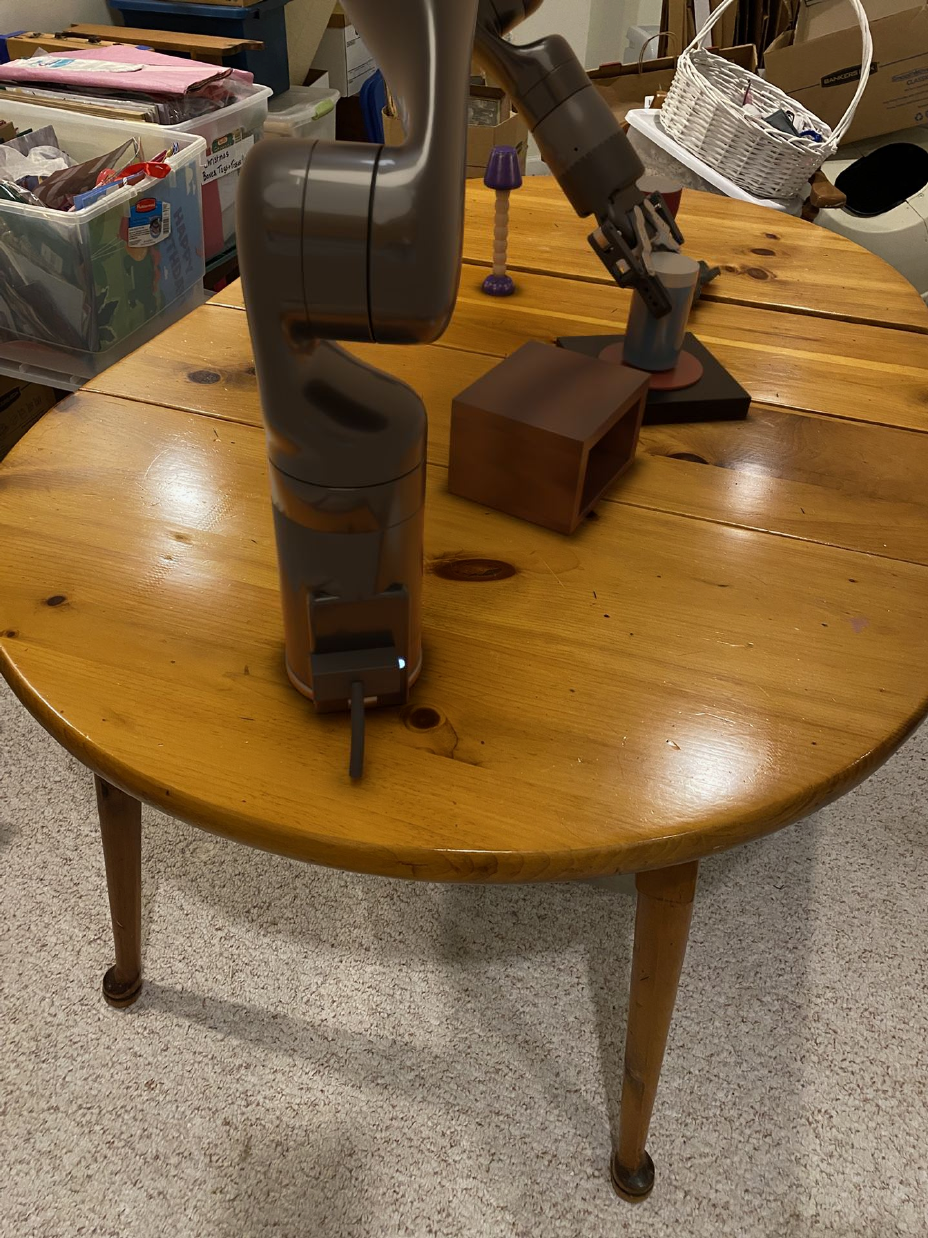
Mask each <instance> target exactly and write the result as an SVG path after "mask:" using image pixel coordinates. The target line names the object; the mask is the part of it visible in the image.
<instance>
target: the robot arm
mask: <svg viewBox="0 0 928 1238" xmlns="http://www.w3.org/2000/svg"><path fill="white" fill-rule="evenodd" d="M337 1H338V3H339V4H340V7H341V8H342V10H343V12H344V14H345V16H346V17H347V19H348V21H349V22H350V24H351V26H352V27H353V29H354V31H355V32H356V34H357V36H358V37H359V39H360V40H361V42H362V44H363V45H364V46H365V48H366V50H367V51H368V53H369V54H370V56H371V57H372V59H373V60H374V62H375V65H376V66H377V68H378V70H379V71H380V74H381V75H382V77H383V79H384V81H385V84H386V86H387V89H388V90H389V93H390V95H391V97H392V100H393V103H394V106H395V108H396V111H397V115H398V117H399V119H400V120H399V121H400V123H401V127H402V131H403V135H404V140H403V141H402V142H401V143H398V144H383V143H374V142H362V141H349V140H335V139H334V140H333V139H321V138H310V137H296V136H268V137H265V138H262V139H259V140H257V141H256V142H255V143H254V144H252V146H251V147H250V148H249V149H248V151H247V152H246V154H245V157H243V160H242V163H241V166H240V168H239V169H240V170H239V173H238V177H237V181H236V189H235V200H234V228H235V229H234V230H235V231H234V232H235V247H236V255H237V262H238V270H239V271H238V272H239V277H240V285H241V286H240V287H241V291H242V298H243V303H244V310H245V316H246V321H247V328H248V332H249V333H248V334H249V338H250V344H251V351H252V358H253V363H254V372H255V373H254V374H255V383H256V391H257V399H258V407H259V413H260V417H261V422H262V426H263V431H264V439H265V448H266V449H265V450H266V460H267V470H268V480H269V489H270V502H271V503H270V504H271V510H272V511H271V515H272V524H273V533H274V543H275V555H276V565H277V573H278V574H277V575H278V583H279V584H278V585H279V595H280V605H281V616H282V625H283V632H284V641H285V642H284V643H285V650H284V655H285V659H284V660H285V668H286V673H287V676H288V679H289V680H290V683H291V684H292V685H293V686H294V688H295V689H296V690H297V691H298V692H299V693H300V694H302V695H303V696H304V697H306V698H307V699H309V700H311V701H313V705H314V710H315V712H316V713H317V714H318V713H319V714H321V713H322V714H323V713H331V712H339V711H340V712H342V711H349V710H350V720H351V721H350V723H351V725H350V730H351V731H350V733H351V734H350V736H351V737H350V756H349V766H348V767H349V769H348V776H349V777H350V778H354V779H359V778H362V777H363V771H364V769H363V768H364V756H365V740H366V736H365V734H366V729H365V728H366V725H365V724H366V721H365V709H369V708H370V709H371V708H376V707H383V706H384V707H385V706H393V705H401V704H406V703H408V702H409V694H410V693H409V690H410V688H411V687H412V686H413V685H414V684H415V682H416V681H417V680H418V677H419V676H420V673H421V670H422V665H423V664H422V663H423V647H422V646H423V645H422V623H423V622H422V621H423V620H422V619H423V618H422V615H423V613H422V612H423V588H424V587H423V584H424V582H423V581H424V553H425V552H424V551H425V523H426V522H425V519H426V518H425V517H426V493H427V470H428V469H427V468H428V467H427V463H428V437H429V436H428V435H429V434H428V433H429V419H428V413H427V408H426V405H425V402H424V401H423V399H422V397H421V396H420V395H419V393H418V392H417V391H416V390H415V389H414V388H413V387H412V386H411V385H410V384H409V383H407V382H406V381H404V380H402V379H401V378H399V377H397V376H396V375H394V374H391V373H390V372H388V371H385V370H383V369H380V368H378V367H376V366H374V365H372V364H370V363H368V362H367V361H365V360H362V358H359V357H357V356H356V355H355V354H353V353H351V352H350V351H349V350H347V349H346V348H345V347H343V346H342V345H341V344H340V343H338V342H350V343H360V344H374V345H375V344H378V345H388V346H389V345H390V346H404V347H405V346H406V347H416V346H426V345H430V344H433V343H435V342H437V341H438V340H439V339H440V338H441V337H442V336H443V335H444V334H445V332H446V331H447V329H448V327H449V325H450V323H451V320H452V317H453V315H454V311H455V308H456V304H457V301H458V295H459V289H460V284H461V275H462V268H463V255H464V241H465V240H464V239H465V224H466V223H465V221H466V198H467V197H466V196H467V195H466V194H467V170H468V169H467V168H468V167H467V166H468V142H469V141H468V139H469V117H470V116H469V115H470V114H469V113H470V91H471V89H470V88H471V73H472V61H473V62H475V63H476V65H478V66H479V67H480V68H481V69H482V70H483V71H484V72H485V73H486V74H488V76H489V77H490V78H491V79H492V80H493V81H494V82H495V83H496V84H497V86H499V88H500V89H501V90H502V91H503V92H504V93H505V95H506V96H507V98H508V99H509V100H510V102H511V104H512V105H513V107H514V108H515V110H516V112H517V113H518V115H519V117H520V118H521V120H522V121H523V123H524V125H525V127H526V129H528V131H529V133H530V134H531V137H532V138H533V140H534V142H535V144H536V146H537V148H538V151H539V154H540V155H541V157H542V159H543V161H544V163H545V164H546V166H547V167H548V169H549V170H550V172H551V174H552V175H553V176H552V177H554V179H555V180H556V182H557V184H558V186H559V187H560V189H561V191H562V192H563V194H564V195H565V197H566V198H567V200H568V202H569V204H570V205H571V207H572V208H573V210H574V212H575V213H576V215H577V217H578V218H580V219H586V218H588V217H590V216H591V215H594V219H595V220H596V223H597V226H598V228H596V229H595V230H593V232H591V233H590V234H589V235H587V237H586V240H587V243H588V244H589V246H590V247H591V248H592V251H594V253H595V255H597V257H598V259H599V260H600V261H601V263H602V264H603V266H604V268H606V270H607V271H608V273H609V275H610V276H611V277H612V279H613V280H614V281H615V283H616V284H617V285H618V287H620V289H625V288H627V287H630V288H631V289H632V290H633V289H635V288H636V289H637V291H638V292H639V294H640V296H641V297H642V299H643V301H644V302H645V304H646V306H647V307H648V309H649V311H650V312H651V314H652V316H653V317H654V318H655V319H661V318H662V317H664V316H665V315H667V314H669V313H670V312H671V311H672V310H673V309H674V308H675V304H674V302H673V301H672V299H671V297H670V296H669V294H668V292H667V291H666V289H665V287H664V286H663V284H662V282H661V281H660V279H659V277H658V276H657V275H655V271H654V268H653V265H652V263H651V260H650V257H649V254H650V252H672V253H677V254H681V255H682V251H683V250H682V247H681V246H682V245H684V244H685V238H684V236H683V234H682V232H681V229H680V228H679V226H678V224H677V222H676V221H675V220H674V218H673V216H672V214H671V212H670V211H669V209H668V207H667V205H666V203H665V201H664V199H663V197H662V195H661V193H660V192H659V191H658V190H656V191H654V192H653V193H652V194H650V195H648V196H647V197H646V196H645V195H644V194H643V193H642V192H641V190H640V189H639V188H638V187H637V185H636V181H637V180H638V179H640V178H641V177H642V176H643V175H645V172H646V167H645V165H644V163H643V162H642V160H641V158H640V157H639V155H638V152H637V151H636V149H635V148H634V146H633V144H632V142H631V141H630V140H629V138H628V136H627V134H626V133H625V130H624V129H623V127H622V125H621V124H620V122H619V121H618V119H617V117H616V116H615V114H614V112H613V110H612V108H611V107H610V105H609V103H607V101H606V100H605V99H604V97H603V96H602V95H601V94H600V93H599V91H598V90H597V88H596V87H595V85H593V82H592V80H591V79H590V77H589V75H588V73H587V71H586V70H585V69H584V67H583V65H582V63H581V62H580V60H579V58H578V56H577V55H576V53H575V51H574V50H573V48H572V46H571V45H570V43H569V42H568V40H567V39H566V38H565V37H564V36H563V35H561V34H559V33H553V34H549V35H546V36H543V37H540V38H538V39H536V40H533V41H531V42H528V43H525V44H514V43H512V42H509V41H508V40H506V39H504V38H503V37H505V36H506V35H508V33H510V32H511V31H513V30H514V29H515V28H517V27H518V26H519V25H521V24H522V23H523V22H525V21H526V20H527V19H528V18H530V17H531V16H533V15H534V14H535V13H536V12H537V11H538V10H539V9H540V8H541V7H542V5H543V3H544V1H545V0H337ZM669 232H670V234H669ZM656 247H657V248H658V249H657V248H656ZM639 260H640V263H641V264H640V263H639V262H638V261H639ZM621 268H622V270H623V271H622V270H621ZM654 275H655V276H654ZM652 276H654V277H652ZM696 288H697V283H696V286H695V290H696Z"/></svg>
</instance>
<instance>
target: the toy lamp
mask: <svg viewBox="0 0 928 1238" xmlns="http://www.w3.org/2000/svg"><path fill="white" fill-rule="evenodd" d="M482 183H483V185H484V186H485V187H486V188H488V189H490V190H494V194H495V195H494V196H495V202H494V210H495V213H494V215H493V216H494V219H493V221H494V228H493V236H494V238H493V241H492V248H493V250H494V251H493V253H492V261H493V264H492V269H491V271H492V273H490V274H489V275H487V276H486V277H485V278H484V279H483V282H482V284H481V290H482V292H483V293H484V294H487V295H490V296H493V297H494V296H495V297H505V296H510V295H512V294H514V292H515V289H516V287H515V283H514V280H513V279H512V278H511V277H510V275H507V265H506V263H507V259H508V255H507V250H508V240H507V238H508V236H509V227H508V224H509V222H510V216H509V211H510V201H509V199H510V197H511V191H514V190H518V189H520V188H521V187H522V185H523V175H522V171H521V163H520V158H519V153H518V150H517V148H516V147H514V146H511V145H507V144H504V145H501V144H500V145H495V146H493V147H492V148H491V151H490V154H489V156H488V161H487V164H486V168H485V172H484V175H483V181H482Z"/></svg>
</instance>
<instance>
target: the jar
mask: <svg viewBox="0 0 928 1238" xmlns="http://www.w3.org/2000/svg"><path fill="white" fill-rule="evenodd" d="M649 257H650V260H651V263H652V265H653V268H654V271H655V275H657V276H658V277H659V279H660V281H661V282H662V284H663V286H664V287H665V289H666V291H667V292H668V294H669V296H670V297H671V299H672V301H673V302H674V304H675V308H674V309H673V310H672V311H671V312H670V313H669V314H667V315H665V316H664V317H662V318H661V319H655V318H654V317H653V316H652V314H651V312H650V311H649V309H648V307H647V306H646V304H645V302H644V301H643V299H642V297H641V296H640V294H639V292H638V291H637V289H636V288H635V289H632V294H631V299H630V305H629V310H628V315H627V316H628V317H627V323H626V327H625V332H624V334H625V337H624V343H623V348H622V357H623V359H624V360H625V361H626V362H628V363H629V364H631V365H633V366H636V367H638V368H642V369H647V370H667V369H671V368H673V367H675V366H676V365H677V364H678V362H679V357H680V353H681V348H682V344H683V340H684V335H685V332H687V331H686V330H687V326H688V321H689V317H690V312H691V308H692V306H691V304H692V300H693V295H694V291H695V286H696V281H697V277H698V273H699V268H700V265H699V263H698V262H697V261H698V260H696V259H694V258H692V257H690V256H688V255H684V254H682V253H681V254H677V253H672V252H650V254H649ZM638 262H639V263H640V260H639V261H638ZM640 264H641V263H640ZM655 275H654V276H655ZM654 276H652V277H654Z"/></svg>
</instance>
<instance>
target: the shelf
mask: <svg viewBox="0 0 928 1238" xmlns="http://www.w3.org/2000/svg"><path fill="white" fill-rule="evenodd" d="M650 379H651V374H650V373H646V372H643V371H639V370H636V369H632V368H629V367H625V366H622V365H619V364H615V363H612V362H608V361H605V360H601V359H598V358H594V357H591V356H587V355H584V354H580V353H577V352H573V351H570V350H566V349H563V348H559V347H556V345H552V344H549V343H546V342H543V341H542V342H541V341H539V340H538V341H537V340H535V339H529V340H528V341H526V342H525V343H524V344H523V345H521V346H520V347H519V348H517V349H516V350H515V351H513V352H512V353H510V355H508V356H507V357H505V358H504V359H503V360H501V361H500V362H499V363H497V364H496V365H495V366H493V367H492V368H491V369H490V370H488V371H487V372H485V374H483V375H481V376H480V377H479V378H478V379H476V380H475V381H474V382H472V383H471V384H470V385H468V386H467V387H465V388H464V389H463V390H462V391H461V392H459V393H458V394H456V395H455V396H454V397H453V398H451V405H450V407H451V408H450V425H449V426H450V430H449V446H448V447H449V448H448V466H447V467H448V469H447V470H448V471H447V488H446V489H447V490H446V491H447V492H448V493H451V494H454V495H456V496H459V497H461V498H464V499H467V500H470V501H473V502H475V503H478V504H481V505H483V506H486V507H489V508H491V509H494V510H497V511H500V512H502V513H505V514H508V515H511V516H513V517H516V518H519V519H521V520H525V521H527V522H530V523H533V524H535V525H538V526H541V527H543V528H547V529H549V530H552V531H555V532H557V533H560V534H563V535H565V536H568V537H569V536H571V535H572V534H573V532H574V531H576V529H577V528H578V526H579V525H580V524H582V522H583V521H584V520H585V519H586V518H587V517H588V515H589V514H590V513H591V512H592V511H593V510H594V508H595V507H596V506H597V505H598V504H599V503H600V501H601V500H602V499H603V498H604V497H605V495H607V494H608V492H609V491H610V490H611V489H612V488H613V486H614V485H615V484H616V483H617V482H618V481H619V480H620V478H622V476H623V475H624V474H625V473H626V472H627V470H628V469H629V468H630V467H631V466H632V465H633V464H634V462H635V458H636V453H637V447H638V443H639V438H640V433H641V429H642V425H641V423H642V418H643V413H644V408H645V403H646V398H647V393H648V389H649V384H650Z"/></svg>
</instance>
